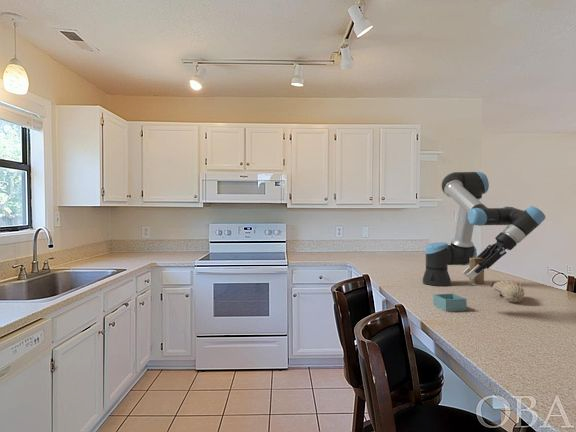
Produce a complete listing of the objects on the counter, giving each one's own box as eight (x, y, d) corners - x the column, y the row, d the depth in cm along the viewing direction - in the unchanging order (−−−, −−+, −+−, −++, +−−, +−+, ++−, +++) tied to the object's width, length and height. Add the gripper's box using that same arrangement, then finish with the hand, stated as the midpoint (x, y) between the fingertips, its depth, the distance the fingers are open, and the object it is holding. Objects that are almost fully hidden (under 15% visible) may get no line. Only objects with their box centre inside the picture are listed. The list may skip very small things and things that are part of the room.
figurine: (483, 289, 189) (502, 304, 160) (483, 273, 189) (502, 285, 160) (508, 290, 186) (531, 306, 157) (508, 274, 186) (531, 287, 157)
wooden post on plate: (468, 283, 151) (468, 257, 151) (477, 282, 152) (477, 257, 152) (475, 285, 147) (475, 259, 147) (484, 284, 148) (485, 258, 147)
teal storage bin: (433, 305, 159) (433, 294, 159) (452, 304, 161) (452, 293, 160) (445, 311, 150) (445, 300, 150) (466, 310, 151) (466, 298, 151)
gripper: (494, 229, 156) (454, 266, 159) (512, 233, 139) (467, 273, 142) (507, 241, 155) (466, 278, 158) (527, 246, 138) (481, 287, 141)
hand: (467, 276), depth 150 cm, fingers closed on wooden post on plate, 4 cm apart
